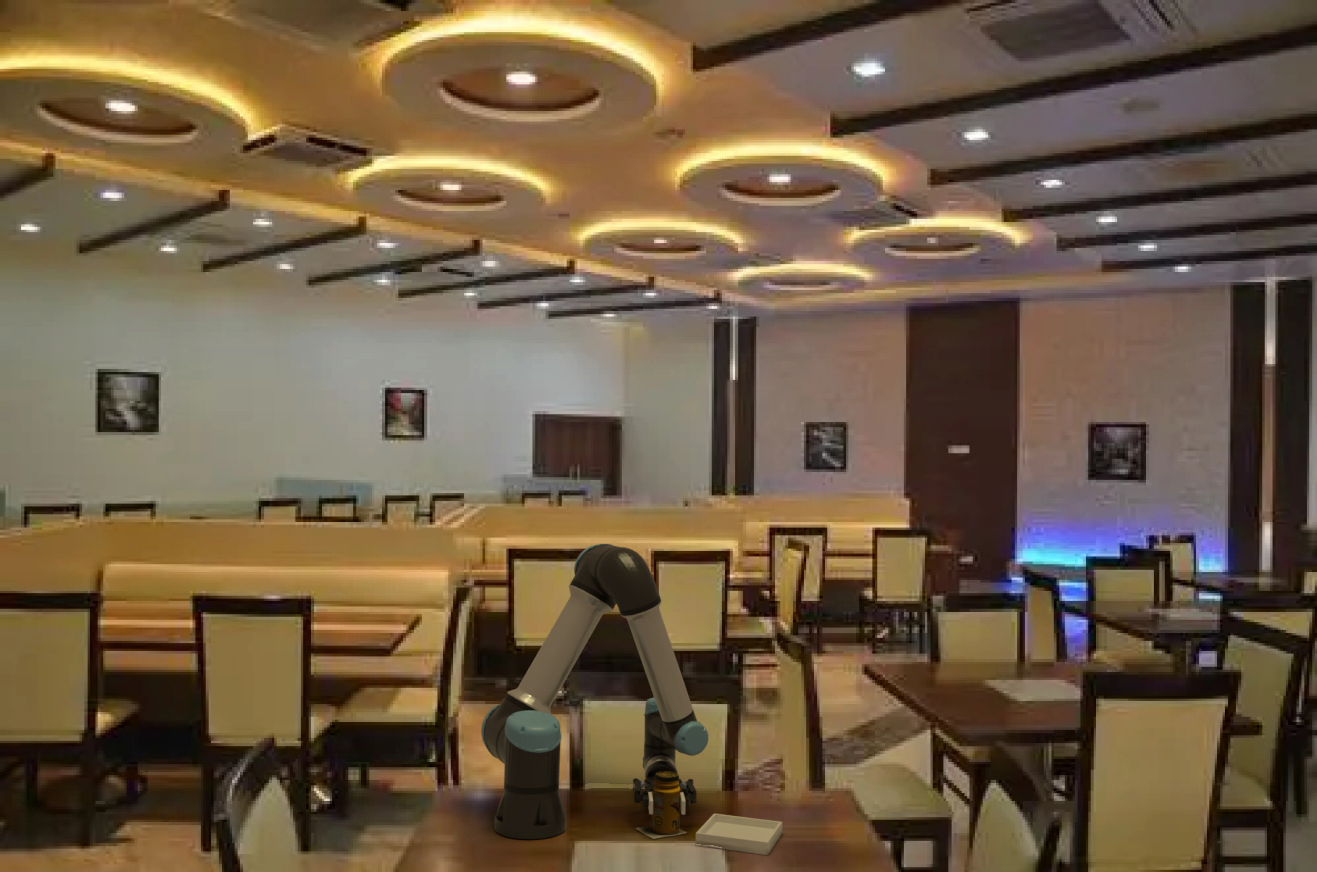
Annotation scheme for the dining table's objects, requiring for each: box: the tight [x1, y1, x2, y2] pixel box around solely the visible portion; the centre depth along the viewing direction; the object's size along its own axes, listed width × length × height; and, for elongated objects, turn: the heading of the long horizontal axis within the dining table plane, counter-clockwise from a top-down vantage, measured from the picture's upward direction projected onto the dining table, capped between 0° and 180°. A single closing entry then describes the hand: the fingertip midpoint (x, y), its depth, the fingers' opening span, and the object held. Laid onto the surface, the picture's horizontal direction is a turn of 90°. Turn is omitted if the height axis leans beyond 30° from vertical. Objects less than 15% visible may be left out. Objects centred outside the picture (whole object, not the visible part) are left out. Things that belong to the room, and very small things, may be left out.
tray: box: [695, 813, 783, 856], centre depth 229 cm, size 15×14×2 cm
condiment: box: [635, 771, 688, 840], centre depth 233 cm, size 7×8×12 cm
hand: (667, 807), depth 228 cm, fingers closed on condiment, 6 cm apart
